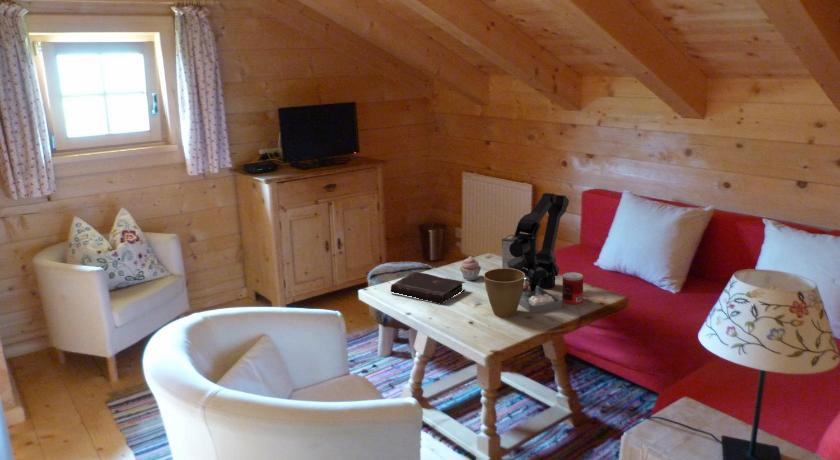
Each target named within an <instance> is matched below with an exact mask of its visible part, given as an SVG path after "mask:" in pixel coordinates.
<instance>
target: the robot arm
mask: <svg viewBox="0 0 840 460" xmlns="http://www.w3.org/2000/svg"><path fill="white" fill-rule="evenodd" d="M569 203H570V200H569V198H567V195H563V194H555V193H550V192H544V193H542V194H541V198H540V199H539V200H538V202H537V203H536V205H535V206H534V207H533V209H531V211H530V212H529V213H527V214H524V215H523V216H522V217H521V218H520V219H519V220H518V222H517V226H516V229H515V232H514V234H513V235H514V237H518V238H517V239H514V243H512V244H511V245H510V247H509V251H510V253H511V255H512V256H514V257H516V258H514V259H512V260H510V261H508V262H507V265H508V267H509V268H511V269H516V270H520V271H522V272H523V273H524V274H525V275H527V277H528V278H529V279H530V288H531V291H534V290H535V288H536V286H538V287H540V288H541V289H543V290H551V289H554V288H555V287H556V277H558V276H559V273H560V268H559V267H558V265H557V263H556V262H557V258H556V255H555V252H554V250H555V246H556V241H557V237H558V231H559V228H560V227H559V226H560V222H561V217H563V216H564V215H565V213H566V212H567V209H568V207H569ZM547 213H548V217H547V221H546V222H547V223H546V227H545V231H544V237H543V241H542V246H541V249H540V250H539V251H537V238H538V237H539V231H540V230H541V229H540V228H541V226H542V225H541V221H542V220H543V218H544V217H545V215H546V214H547Z"/></svg>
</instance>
